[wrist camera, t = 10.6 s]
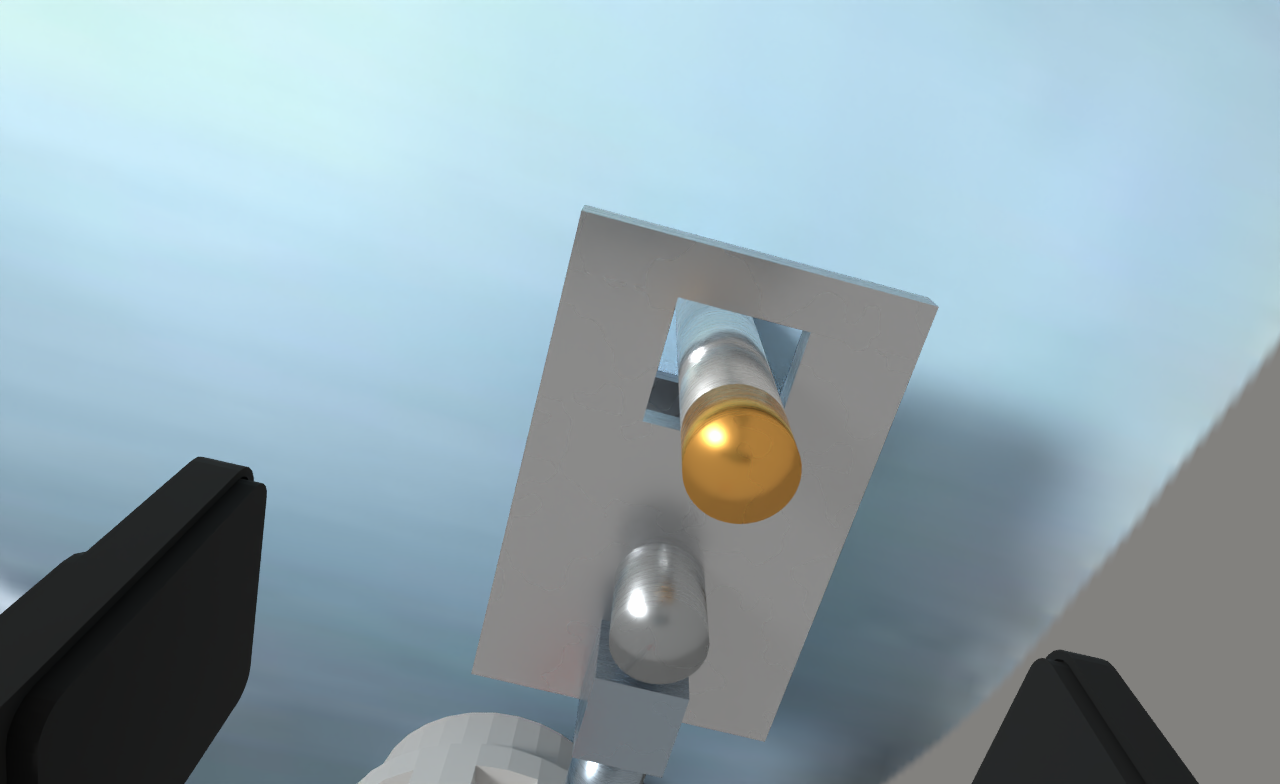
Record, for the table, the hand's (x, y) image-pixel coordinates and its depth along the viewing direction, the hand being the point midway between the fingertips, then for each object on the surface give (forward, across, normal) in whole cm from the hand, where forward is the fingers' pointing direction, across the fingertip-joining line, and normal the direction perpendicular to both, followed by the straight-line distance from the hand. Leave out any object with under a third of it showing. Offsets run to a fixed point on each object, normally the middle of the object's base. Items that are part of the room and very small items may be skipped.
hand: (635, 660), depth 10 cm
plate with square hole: (+22, -2, +8) cm, 24 cm away
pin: (+23, -2, +1) cm, 23 cm away
